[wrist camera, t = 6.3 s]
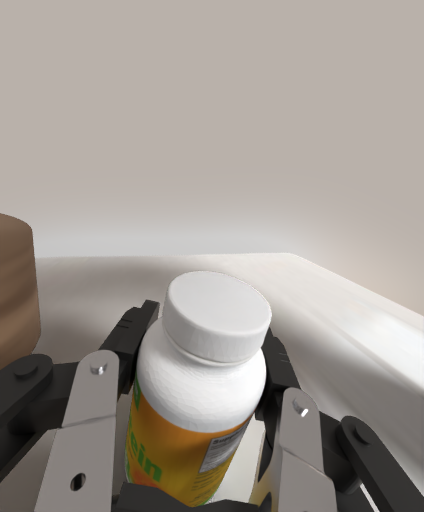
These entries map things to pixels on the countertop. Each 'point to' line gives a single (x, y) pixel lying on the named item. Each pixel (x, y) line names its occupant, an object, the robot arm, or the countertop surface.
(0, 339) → the walnut block
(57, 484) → the robot arm
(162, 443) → the supplement bottle
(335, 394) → the countertop surface
